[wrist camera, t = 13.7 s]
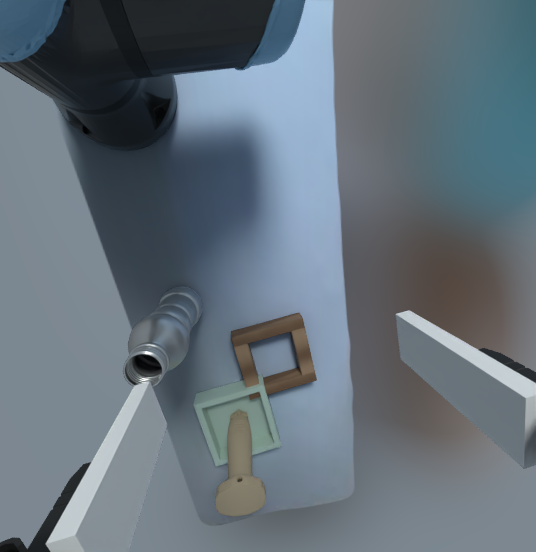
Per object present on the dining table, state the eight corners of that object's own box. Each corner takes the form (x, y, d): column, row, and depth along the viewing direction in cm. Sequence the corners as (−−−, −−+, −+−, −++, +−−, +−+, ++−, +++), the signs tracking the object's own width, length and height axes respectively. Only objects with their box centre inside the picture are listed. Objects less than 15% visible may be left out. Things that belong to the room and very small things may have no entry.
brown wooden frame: (231, 331, 46) (231, 337, 44) (298, 312, 47) (302, 317, 44) (249, 390, 49) (250, 400, 46) (312, 372, 50) (316, 380, 47)
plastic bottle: (164, 323, 44) (110, 406, 25) (161, 283, 43) (101, 338, 23) (204, 321, 45) (182, 401, 26) (203, 282, 44) (178, 335, 24)
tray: (196, 393, 48) (193, 405, 45) (262, 374, 48) (263, 384, 45) (217, 451, 51) (215, 466, 48) (278, 432, 52) (281, 446, 48)
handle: (257, 425, 50) (266, 511, 35) (222, 429, 49) (216, 519, 35) (256, 402, 49) (265, 481, 34) (220, 406, 48) (213, 489, 34)
